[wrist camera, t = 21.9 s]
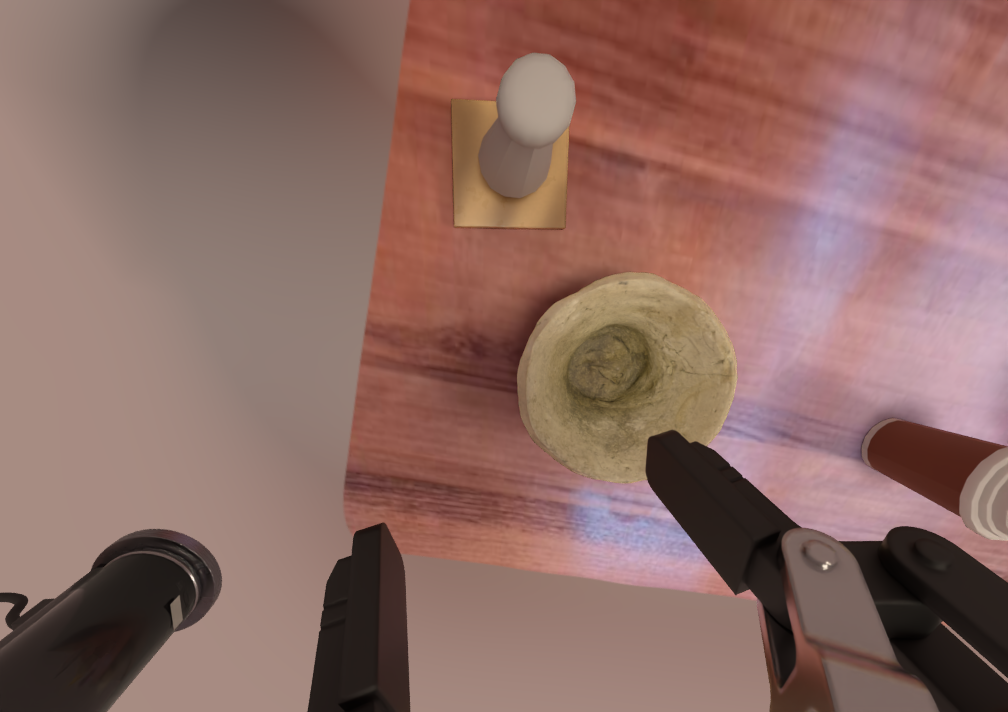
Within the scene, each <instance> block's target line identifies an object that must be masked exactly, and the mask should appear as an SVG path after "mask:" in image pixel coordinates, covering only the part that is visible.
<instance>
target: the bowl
mask: <svg viewBox="0 0 1008 712" xmlns="http://www.w3.org/2000/svg"><path fill="white" fill-rule="evenodd" d="M736 370H737V360H736V356H735V351H734V348H733V345H732V343H731V341H730V339H729V337H728V334H727V332H726V330H725V328H724V327H723V325H722V324H721V322H720V321H719V319H718V318H717V317H716V315H715V313H714V312H713V311H712V309H711V308H710V307H709V306H708V305H707V304H706V303H705V302H704V301H703V300H702V299H701V298H700V297H698V296H697V295H694V294H692V293H691V292H689V291H688V290H686V289H684V288H682V287H680V286H678V285H676V284H673V283H671V282H669V281H667V280H666V279H664V278H662V277H660V276H657V275H655V274H652V273H647V272H640V273H635V272H625V273H621V274H615V275H611V276H607V277H603V278H602V279H599V280H596V281H594V282H593V283H592V284H589V285H588V286H586V287H584V288H582V289H580V291H579V292H576V293H575V294H572V295H569V296H567V297H566V298H563V299H561V300H560V301H558V302H556V303H554V304H553V305H552V306H551V307H550V308H549V309H548V310H547V311H546V312H545V313H544V315H543V316H542V317H541V318H540V320H539V321H538V322H537V324H536V326H535V329H534V330H533V332H532V333H531V335H530V337H529V340H528V342H527V345H526V347H525V350H524V352H523V355H522V357H521V359H520V363H519V367H518V372H517V385H518V389H517V393H518V398H519V402H518V404H519V407H520V416H521V419H522V421H523V423H524V425H525V428H526V429H527V430H528V433H529V435H530V437H531V439H532V440H533V441H534V442H535V443H536V444H537V445H538V446H539V447H540V448H541V449H543V450H544V452H546V453H547V454H549V455H550V456H551V457H552V458H553V459H554V460H556V461H557V462H559V463H560V464H562V465H563V466H565V467H566V468H568V469H569V470H570V471H572V472H574V473H577V474H579V475H582V476H585V477H588V478H591V479H597V480H603V481H608V482H614V483H633V482H637V481H642V480H647V477H646V472H645V468H646V456H647V443H648V438H649V437H651V436H654V435H657V434H660V433H663V432H666V431H669V430H676V431H677V432H679V433H680V434H681V435H682V436H683V437H684V438H685V439H686V440H687V441H688V442H689V443H692V442H695V441H697V442H699V443H701V444H703V445H705V446H708V444H709V443H710V442H711V441H712V440H713V439H714V438H715V436H716V435H717V434H718V433H719V431H720V430H721V427H722V425H723V423H724V421H725V419H726V417H727V414H728V412H729V409H730V406H731V403H732V401H733V398H734V392H735V388H736V382H737V378H738V377H737V372H736Z"/></svg>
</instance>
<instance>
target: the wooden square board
mask: <svg viewBox="0 0 1008 712" xmlns="http://www.w3.org/2000/svg"><path fill="white" fill-rule="evenodd" d="M497 118H498V112H497V106H496V101H483V100H462V99H451V119H452V163H453V206H454V227H455V228H490V229H550V230H563V229H565V227H566V199H567V172H568V144H569V127H568V128H567V129H566V130H565V131H564V133H563V134H562V135H561V136H560V137H559V138H558V139H557V141H556V142H555V143H553V148H552V158H551V164H550V168H549V172H548V175H547V179H546V180H545V181H544V182H543V184H542V185H541V186H540V187H539V188H538V189H537V190H536V191H535V192H533V193H531V194H528V195H526V196H524V197H522V198H513V197H505V196H503V195H501V194H499V193H498V192H496V191H494V190H493V189H491V188H490V186H489V185H488V183H487V181H486V180H485V178H484V177H483V175H482V173H481V168H480V163H479V157H478V154H479V150H480V147H481V143H482V139H483V137H484V136H485V134H486V133H487V132H488V130H489V129H490V128H491V126H492V125H493V123H494V122H495V121H496V119H497Z"/></svg>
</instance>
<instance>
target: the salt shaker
mask: <svg viewBox="0 0 1008 712" xmlns="http://www.w3.org/2000/svg"><path fill="white" fill-rule="evenodd" d="M575 103H576V96H575V86H574V81H573V79H572V78H571V76H570V74H569V72H568V71H567V69H566V67H565V65H563V64H562V63H561V62H559V61H558V60H556V59H555V58H554V57H552V56H551V55H548V54H539V53H531V54H528V55H526V56H523V57H521V58H518V59H516V60H515V61H514V63H513V64H512V65H511V66H510V68H509V69H508V70H507V71H506V73H505V74H504V76H503V77H502V79H501V83H500V87H499V90H498V94H497V98H496V106H497V112H498V118H497V119H496V121H495V122H494V123H493V125H492V126H491V128H490V129H489V130H488V132H487V133H486V134H485V136H484V137H483V139H482V143H481V147H480V150H479V154H478V157H479V163H480V168H481V173H482V175H483V177H484V178H485V180H486V181H487V183H488V185H489V186H490V188H491V189H493V190H494V191H496V192H498V193H499V194H501V195H503V196H505V197H513V198H522V197H524V196H526V195H528V194H531V193H533V192H535V191H536V190H537V189H538V188H539V187H540V186H541V185H542V184H543V182H544V181H545V180H546V179H547V175H548V172H549V168H550V164H551V158H552V148H553V143H555V142H556V141H557V139H558V138H559V137H560V136H561V135H562V134H563V133H564V131H565V130H566V129H567V128H568V127H569V125H570V122H571V118H572V115H573V111H574V108H575Z"/></svg>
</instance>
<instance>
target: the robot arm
mask: <svg viewBox="0 0 1008 712" xmlns="http://www.w3.org/2000/svg"><path fill="white" fill-rule="evenodd" d="M645 472H646V477H647V480H648V483H649V485H650V487H651V488H652V490H653V491H654V492H655V494H656V495H657V496H658V498H659V499H660V500H661V501H662V503H663V504H664V505H665V506H666V508H667V509H668V510H669V511H670V513H671V514H672V515H673V516H674V518H675V519H676V520H677V522H678V523H679V524H680V525H681V527H682V528H683V529H684V530H685V532H686V533H687V534H688V535H689V537H690V538H691V539H692V540H693V542H694V543H695V544H696V546H697V547H698V548H699V549H700V551H701V552H702V553H703V554H704V556H705V557H706V558H707V559H708V561H709V562H710V563H711V565H712V566H713V567H714V568H715V570H716V571H717V572H718V573H719V575H720V576H721V577H722V578H723V580H724V581H725V582H726V583H727V585H728V586H729V587H730V589H731V590H732V591H733V592H734V594H735V595H737V594H739V593H742V592H744V591H746V590H749V589H750V590H751V591H752V592H753V593H754V595H755V596H756V597H757V598H758V599H757V608H758V614H759V621H760V627H761V632H762V640H763V645H764V652H765V658H766V664H767V671H768V677H769V683H770V692H771V703H770V712H1008V683H1007V682H1006V681H1005V680H1004V679H1003V678H1002V677H1000V676H999V675H998V674H997V673H996V672H995V671H994V670H993V669H992V668H990V667H989V666H988V665H987V664H986V663H985V662H984V661H982V659H980V658H979V657H978V656H977V655H976V654H975V653H973V651H971V650H970V649H969V648H968V647H967V646H966V645H965V644H964V643H962V642H961V641H960V640H959V639H958V638H957V637H956V636H955V635H954V634H952V633H951V632H950V631H949V630H948V629H947V628H945V626H944V625H942V624H941V622H942V621H944V622H945V623H946V624H947V625H948V626H950V627H951V628H952V629H953V630H954V631H955V632H956V633H957V634H959V635H960V636H961V637H962V638H963V639H964V640H965V641H966V642H968V643H969V644H970V645H971V646H972V647H973V648H974V649H976V650H977V651H978V652H979V653H980V654H981V655H982V656H983V657H985V658H986V659H987V660H988V661H989V662H990V663H991V664H992V665H994V666H995V667H996V668H997V669H998V670H999V671H1000V672H1002V673H1003V674H1004V675H1005V676H1006V677H1007V678H1008V583H1007V582H1006V581H1005V580H1003V579H1002V578H1000V577H999V576H998V575H996V574H995V573H994V572H992V571H991V570H989V569H988V568H987V567H985V566H984V565H983V564H981V563H980V562H978V561H977V560H976V559H974V558H973V557H972V556H970V555H969V554H967V553H966V552H965V551H963V550H962V549H961V548H959V547H958V546H956V545H955V544H953V543H952V542H950V541H948V540H947V539H945V538H943V537H941V536H939V535H937V534H935V533H932V532H930V531H927V530H924V529H920V528H915V527H908V526H901V527H896V528H893V529H891V530H890V531H889V532H888V534H887V536H886V537H885V539H884V540H883V541H837V540H836V539H834V538H832V537H831V536H829V535H827V534H825V533H822V532H820V531H817V530H813V529H808V528H802V527H800V526H799V525H797V524H796V523H795V522H793V521H792V520H791V519H790V518H789V517H788V516H787V515H786V514H784V513H783V512H782V511H781V510H780V509H779V508H778V507H777V506H776V505H774V504H773V503H772V502H771V501H770V500H769V499H768V498H767V497H766V496H764V495H763V494H762V493H761V492H760V491H759V490H758V489H757V488H756V487H755V486H753V485H752V484H751V483H750V482H749V481H748V480H747V479H746V478H743V477H742V475H741V474H740V473H739V472H738V471H737V470H736V469H735V468H733V467H731V466H730V464H729V463H728V462H727V461H726V460H725V459H723V458H722V457H721V456H720V455H719V454H718V453H717V452H716V451H714V450H712V449H711V448H709V447H707V446H705V445H703V444H701V443H699V442H697V441H695V442H692V443H689V442H688V441H687V440H686V439H685V438H684V437H683V436H682V435H681V434H680V433H679V432H677V431H676V430H669V431H666V432H663V433H660V434H657V435H654V436H651V437H649V438H648V443H647V456H646V468H645ZM201 592H202V587H201V582H200V579H199V576H198V574H197V572H196V571H195V569H194V568H193V567H192V566H191V565H190V564H189V563H188V562H187V561H186V560H184V559H183V558H182V557H180V556H178V555H176V554H174V553H172V552H169V551H166V550H162V549H157V548H138V549H133V550H129V551H126V552H124V553H122V554H120V555H119V556H117V557H116V558H114V559H113V560H112V561H110V562H109V563H107V564H99V565H98V566H97V567H96V568H94V569H93V570H92V571H90V572H89V573H88V574H86V575H85V576H84V577H83V578H81V579H80V580H79V581H77V582H76V583H75V584H74V585H72V586H71V587H70V588H68V589H67V590H66V591H64V592H63V593H62V594H60V595H59V596H58V597H57V598H55V599H44V600H42V601H41V602H40V603H38V604H37V605H36V606H34V607H33V608H32V609H30V610H29V611H28V612H26V613H25V614H24V615H22V616H21V617H20V616H19V615H20V613H21V611H22V610H23V609H24V608H25V606H26V605H27V603H28V598H27V597H26V596H24V595H22V594H17V593H0V602H10V603H13V604H15V605H14V607H13V608H12V609H11V610H10V612H9V613H8V614H7V616H6V618H5V620H6V623H7V625H8V627H9V628H11V629H12V630H13V632H11V633H10V634H9V635H7V636H6V637H5V638H3V639H2V640H1V641H0V712H107V711H108V710H109V709H110V708H111V706H112V705H113V704H114V703H115V702H116V700H117V699H118V698H119V697H120V696H121V694H122V693H123V692H124V691H125V690H126V689H127V687H128V686H129V685H130V684H131V683H132V681H133V680H134V679H135V678H136V677H137V675H138V674H139V673H140V672H141V671H142V670H143V668H144V667H145V666H146V665H147V663H148V662H149V661H150V660H151V659H152V658H153V656H154V655H155V654H156V653H157V652H158V650H159V649H160V648H161V647H162V646H163V645H164V643H165V642H166V641H167V640H168V638H169V637H170V636H171V635H172V634H173V632H174V631H175V630H176V629H177V628H178V626H179V625H180V624H181V623H182V622H183V621H184V620H185V619H186V618H187V617H188V616H189V615H190V614H191V613H192V611H193V610H194V609H195V608H196V606H197V605H198V603H199V601H200V598H201ZM323 607H324V611H322V618H321V625H320V626H321V631H320V632H319V638H318V645H317V652H316V658H315V665H314V673H313V679H312V686H311V692H310V699H309V706H308V712H410V692H409V665H408V640H407V613H406V586H405V570H404V565H403V560H402V557H401V554H400V552H399V550H398V548H397V546H396V543H395V541H394V539H393V537H392V535H391V533H390V531H389V529H388V527H387V525H386V524H385V523H380V524H377V525H374V526H371V527H368V528H365V529H362V530H359V531H356V532H355V534H354V537H353V546H352V556H349V557H346V558H343V559H340V560H338V561H337V563H336V565H335V567H334V569H333V571H332V573H331V575H330V577H329V579H328V581H327V584H326V591H325V598H324V604H323Z"/></svg>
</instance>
